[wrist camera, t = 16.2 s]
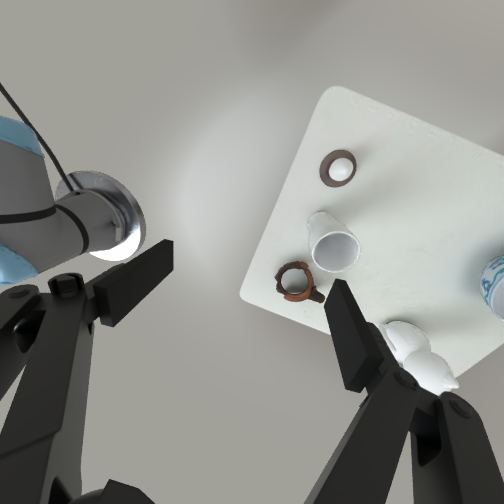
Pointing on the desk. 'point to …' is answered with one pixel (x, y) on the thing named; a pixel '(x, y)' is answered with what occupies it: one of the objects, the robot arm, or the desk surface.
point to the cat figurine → (418, 356)
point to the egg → (341, 169)
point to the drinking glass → (331, 243)
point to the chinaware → (494, 286)
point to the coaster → (327, 163)
